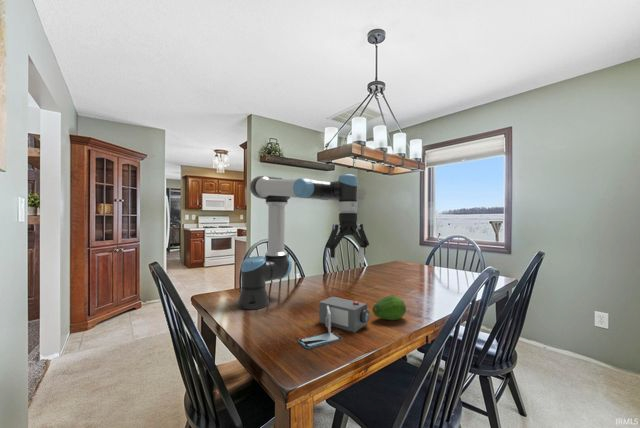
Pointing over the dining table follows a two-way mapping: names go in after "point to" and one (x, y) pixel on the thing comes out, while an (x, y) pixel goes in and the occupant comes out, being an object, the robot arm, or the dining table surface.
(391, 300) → the fruit
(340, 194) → the robot arm
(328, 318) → the door
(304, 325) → the dining table surface
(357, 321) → the camera body
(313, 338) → the smartphone
